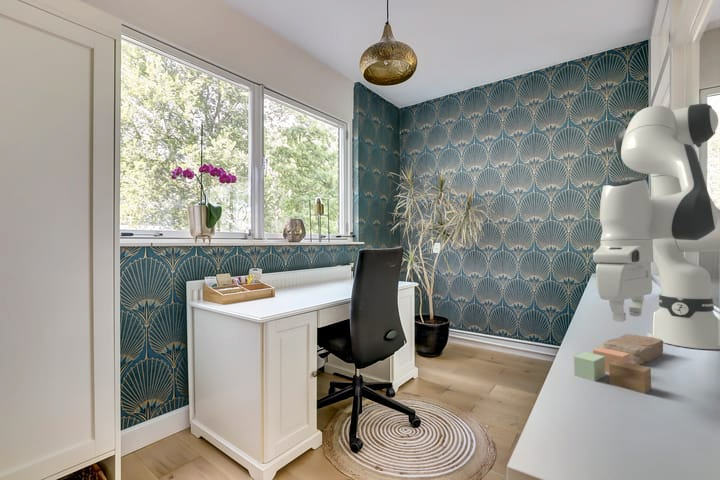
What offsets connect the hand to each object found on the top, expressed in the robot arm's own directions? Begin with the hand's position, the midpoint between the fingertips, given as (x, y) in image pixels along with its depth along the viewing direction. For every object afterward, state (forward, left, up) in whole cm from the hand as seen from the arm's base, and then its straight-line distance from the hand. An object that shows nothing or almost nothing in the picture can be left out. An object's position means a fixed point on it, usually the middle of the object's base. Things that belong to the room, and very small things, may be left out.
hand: (627, 318), depth 71 cm
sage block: (0, -7, -15) cm, 16 cm away
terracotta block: (-8, -6, -15) cm, 18 cm away
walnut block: (0, 0, -15) cm, 15 cm away
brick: (-25, -7, -15) cm, 30 cm away
